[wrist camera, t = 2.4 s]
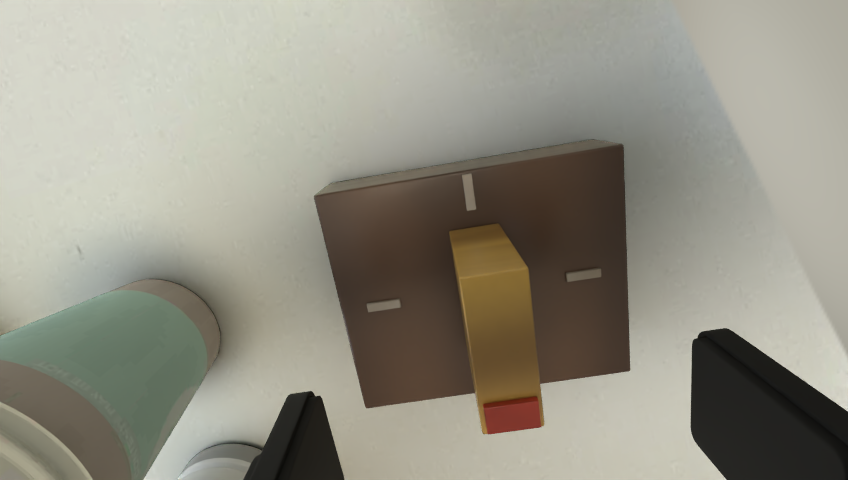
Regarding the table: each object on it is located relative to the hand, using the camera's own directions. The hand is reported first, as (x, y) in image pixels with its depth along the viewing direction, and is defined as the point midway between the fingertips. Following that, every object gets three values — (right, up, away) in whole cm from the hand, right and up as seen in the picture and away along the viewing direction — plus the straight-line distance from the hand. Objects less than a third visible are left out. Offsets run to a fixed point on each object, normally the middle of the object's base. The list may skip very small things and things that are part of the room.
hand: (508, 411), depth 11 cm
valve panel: (0, +3, +10) cm, 10 cm away
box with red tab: (0, +2, +7) cm, 7 cm away
